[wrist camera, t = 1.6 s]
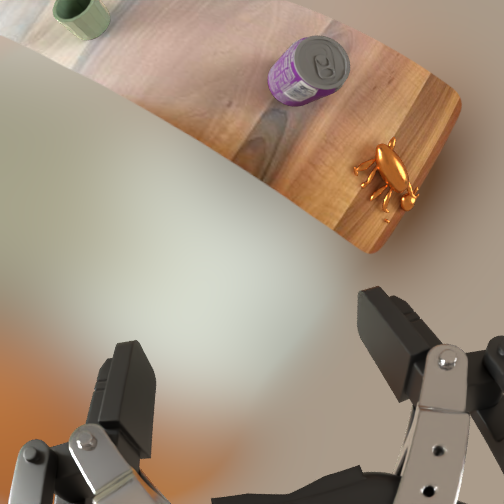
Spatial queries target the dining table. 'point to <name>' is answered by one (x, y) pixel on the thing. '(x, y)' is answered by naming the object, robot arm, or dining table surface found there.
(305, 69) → the beverage can
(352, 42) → the dining table surface
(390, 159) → the figurine
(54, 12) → the cup
